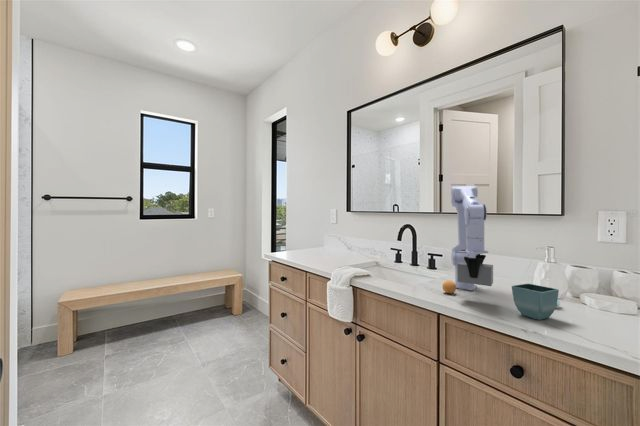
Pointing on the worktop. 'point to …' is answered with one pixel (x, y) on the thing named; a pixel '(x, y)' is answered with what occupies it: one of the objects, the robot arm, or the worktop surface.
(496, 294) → the worktop surface
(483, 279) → the gray rectangular block
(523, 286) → the flower pot
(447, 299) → the worktop surface
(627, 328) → the worktop surface
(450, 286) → the ball
